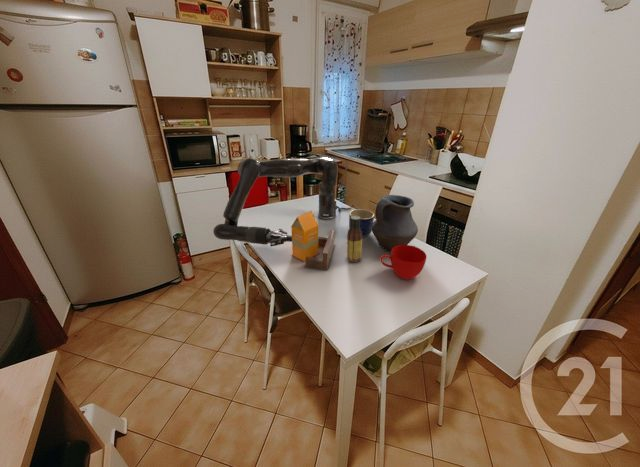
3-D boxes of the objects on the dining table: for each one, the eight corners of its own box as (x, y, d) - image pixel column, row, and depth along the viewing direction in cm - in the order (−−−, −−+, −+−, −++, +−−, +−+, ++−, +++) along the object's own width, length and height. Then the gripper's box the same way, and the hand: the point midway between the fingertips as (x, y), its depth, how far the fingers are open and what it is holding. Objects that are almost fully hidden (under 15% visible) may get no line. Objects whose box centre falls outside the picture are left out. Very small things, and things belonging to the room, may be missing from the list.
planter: (363, 226, 143) (365, 207, 138) (377, 236, 133) (379, 216, 128) (343, 230, 138) (344, 211, 133) (356, 241, 129) (358, 220, 123)
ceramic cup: (375, 264, 111) (378, 244, 106) (416, 265, 110) (420, 245, 106) (381, 284, 99) (384, 262, 95) (426, 285, 99) (431, 263, 94)
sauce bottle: (362, 256, 116) (366, 215, 107) (359, 264, 111) (363, 221, 101) (347, 253, 118) (350, 213, 108) (344, 261, 112) (347, 219, 103)
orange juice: (318, 253, 118) (318, 212, 109) (304, 261, 112) (303, 219, 103) (305, 247, 123) (305, 208, 113) (292, 255, 117) (290, 214, 107)
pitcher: (423, 250, 121) (434, 199, 110) (389, 264, 111) (397, 209, 99) (391, 232, 137) (398, 186, 125) (358, 243, 127) (362, 194, 115)
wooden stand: (305, 267, 109) (305, 251, 105) (315, 243, 126) (315, 229, 122) (327, 270, 107) (327, 253, 103) (334, 245, 124) (334, 230, 121)
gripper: (250, 234, 111) (290, 238, 108) (262, 221, 122) (298, 224, 119) (252, 249, 114) (291, 254, 111) (264, 235, 125) (299, 239, 122)
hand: (295, 239), depth 115 cm, fingers closed
